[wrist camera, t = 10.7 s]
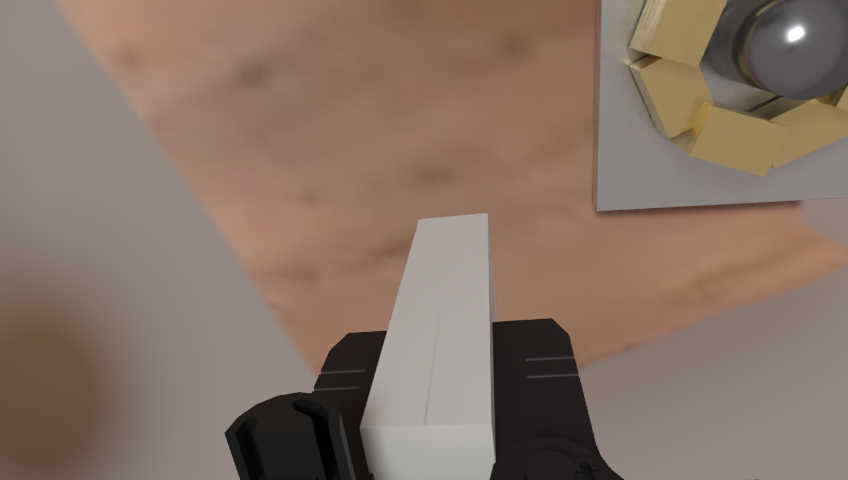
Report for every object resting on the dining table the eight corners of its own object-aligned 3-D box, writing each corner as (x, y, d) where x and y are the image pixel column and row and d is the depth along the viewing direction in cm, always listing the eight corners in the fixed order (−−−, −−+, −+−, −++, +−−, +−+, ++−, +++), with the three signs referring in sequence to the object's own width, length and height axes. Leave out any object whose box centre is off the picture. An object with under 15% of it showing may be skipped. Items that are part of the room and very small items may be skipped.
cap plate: (598, -136, 34) (635, -181, 25) (953, -181, 31) (1121, -247, 23) (592, 201, 42) (618, 251, 33) (875, 186, 39) (980, 235, 31)
